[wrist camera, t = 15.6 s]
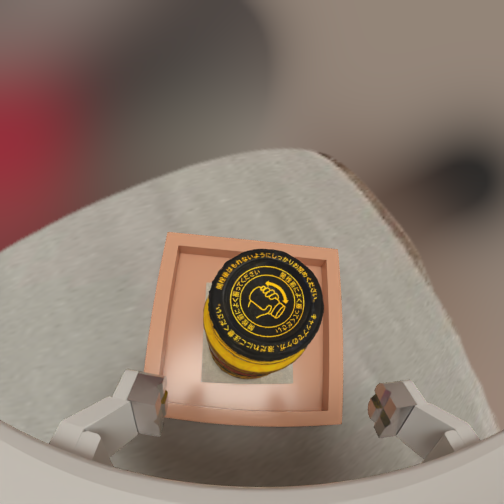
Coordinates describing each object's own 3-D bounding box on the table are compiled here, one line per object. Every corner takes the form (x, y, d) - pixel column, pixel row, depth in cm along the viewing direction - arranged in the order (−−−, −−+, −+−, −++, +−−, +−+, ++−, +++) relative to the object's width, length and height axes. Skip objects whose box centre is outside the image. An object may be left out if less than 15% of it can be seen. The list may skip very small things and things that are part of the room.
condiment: (201, 382, 21) (183, 373, 11) (206, 283, 25) (199, 197, 15) (292, 383, 22) (357, 372, 11) (290, 286, 26) (338, 208, 15)
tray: (330, 421, 21) (341, 423, 19) (147, 410, 20) (140, 412, 18) (329, 261, 29) (337, 249, 26) (171, 245, 28) (167, 232, 25)
